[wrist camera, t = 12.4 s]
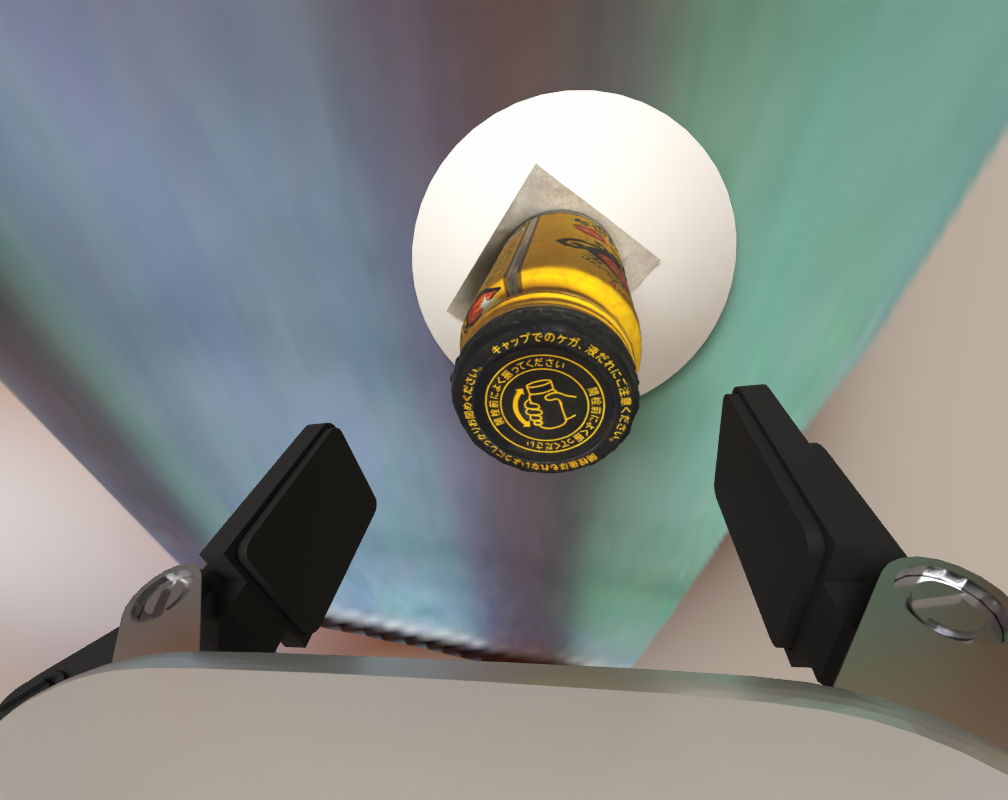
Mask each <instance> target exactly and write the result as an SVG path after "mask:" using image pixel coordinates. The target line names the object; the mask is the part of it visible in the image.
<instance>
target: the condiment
mask: <svg viewBox="0 0 1008 800" xmlns="http://www.w3.org/2000/svg"><path fill="white" fill-rule="evenodd" d="M660 261H661V260H660V259H659V258H658V257H657V256H655V255H654V254H653V253H651V252H650V251H649V250H648V249H646V248H645V247H644V246H642V244H640V243H639V242H637V241H636V240H635V239H633V238H632V237H631V236H630V235H628V234H627V233H626V232H625V231H623V230H622V229H621V228H619V227H618V226H617V225H616V224H614V223H613V222H612V221H611V220H609V219H608V218H607V217H605V216H604V215H603V214H601V213H600V212H599V211H597V210H596V209H595V208H594V207H592V206H591V205H590V204H588V203H587V202H586V201H585V200H583V199H582V198H581V197H579V196H578V195H577V194H575V193H574V192H573V191H571V190H570V189H569V188H568V187H566V186H564V185H563V184H562V183H561V182H560V181H558V180H557V179H556V178H554V177H553V176H552V175H550V174H549V173H548V172H547V171H545V170H544V169H543V168H541V167H540V166H539V165H538V164H536V163H535V165H534V167H533V168H532V170H531V172H530V173H529V175H528V177H527V178H526V180H525V182H524V183H523V185H522V187H521V188H520V190H519V192H518V193H517V195H516V197H515V198H514V200H513V202H512V203H511V205H510V207H509V208H508V210H507V211H506V213H505V215H504V216H503V218H502V220H501V221H500V223H499V225H498V226H497V228H496V230H495V231H494V233H493V235H492V236H491V238H490V240H489V241H488V243H487V245H486V246H485V248H484V250H483V251H482V253H481V254H480V256H479V258H478V259H477V261H476V263H475V264H474V266H473V268H472V269H471V271H470V272H469V274H468V276H467V278H466V279H465V281H464V282H463V284H462V286H461V288H460V289H459V291H458V293H457V294H456V296H455V297H454V299H453V301H452V302H451V304H450V306H449V307H448V309H447V312H448V313H450V314H452V315H453V316H455V317H456V318H458V319H460V320H462V321H464V322H463V325H462V328H461V334H460V355H459V356H458V357H457V358H456V361H455V369H454V371H453V373H452V374H451V376H450V381H451V383H452V386H451V394H452V402H453V405H454V408H455V410H456V412H457V415H458V417H459V420H460V422H461V424H462V426H463V427H464V429H465V430H466V432H467V433H468V435H469V437H470V438H471V440H472V441H473V442H474V444H475V445H476V446H478V447H479V448H480V449H482V450H483V451H484V452H486V453H487V454H488V455H490V456H492V457H494V458H496V459H497V460H498V461H500V462H501V463H504V464H506V465H509V466H512V467H515V468H518V469H520V470H522V471H527V472H539V473H561V472H567V471H572V470H575V469H579V468H582V467H585V466H588V465H593V464H595V463H596V462H598V461H599V460H601V459H603V458H605V457H606V456H607V455H608V454H609V453H611V452H612V451H614V450H615V449H616V448H617V446H618V445H619V444H620V443H621V442H622V441H624V439H625V438H626V437H627V436H628V434H629V433H630V430H631V426H632V422H633V419H634V417H635V415H636V414H637V410H638V409H639V399H640V396H639V395H640V392H639V390H638V386H639V383H640V382H639V380H638V375H637V373H638V371H639V369H640V362H641V354H642V347H641V342H642V339H641V331H640V325H639V319H638V316H637V313H636V311H635V309H634V305H633V301H632V299H631V294H630V293H631V292H632V291H633V290H634V289H635V288H636V287H637V286H638V285H639V284H640V283H641V281H642V280H643V279H644V278H645V277H646V276H647V274H648V273H649V272H650V271H651V270H652V269H653V268H654V267H655V266H656V265H657V264H658V263H659V262H660Z"/></svg>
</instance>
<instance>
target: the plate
mask: <svg viewBox="0 0 1008 800" xmlns="http://www.w3.org/2000/svg"><path fill="white" fill-rule="evenodd" d="M535 163H536V164H538V165H539V166H540V167H541V168H543V169H544V170H545V171H547V172H548V173H549V174H550V175H552V176H553V177H554V178H556V179H557V180H558V181H560V182H561V183H562V184H563V185H564V186H566V187H568V188H569V189H570V190H571V191H573V192H574V193H575V194H577V195H578V196H579V197H581V198H582V199H583V200H585V201H586V202H587V203H588V204H590V205H591V206H592V207H594V208H595V209H596V210H597V211H599V212H600V213H601V214H603V215H604V216H605V217H607V218H608V219H609V220H611V221H612V222H613V223H614V224H616V225H617V226H618V227H619V228H621V229H622V230H623V231H625V232H626V233H627V234H628V235H630V236H631V237H632V238H633V239H635V240H636V241H637V242H639V243H640V244H642V246H644V247H645V248H646V249H648V250H649V251H650V252H651V253H653V254H654V255H655V256H657V257H658V258H659V259H660V260H661V261H660V262H659V263H658V264H657V265H656V266H655V267H654V268H653V269H652V270H651V271H650V272H649V273H648V274H647V276H646V277H645V278H644V279H643V280H642V281H641V283H640V284H639V285H638V286H637V287H636V288H635V289H634V290H633V291H632V292H631V293H630V294H631V299H632V301H633V305H634V309H635V311H636V313H637V316H638V319H639V325H640V331H641V339H642V342H641V347H642V354H641V362H640V369H639V371H638V373H637V375H638V380H639V382H640V383H639V386H638V390H639V392H640V395H639V396H641V395H643V394H645V393H647V392H649V391H650V390H652V389H654V388H655V387H657V386H658V385H660V384H662V383H663V382H665V381H666V380H667V379H668V378H670V377H671V376H672V375H674V374H675V373H676V372H677V371H679V370H680V369H681V368H682V367H683V366H684V365H685V364H686V363H687V362H688V361H689V360H690V359H691V358H692V357H693V356H694V355H695V353H696V352H697V351H698V350H699V348H700V347H701V346H702V345H703V343H704V342H705V341H706V339H707V338H708V336H709V334H710V333H711V331H712V330H713V328H714V326H715V325H716V323H717V321H718V319H719V317H720V315H721V312H722V310H723V308H724V306H725V304H726V301H727V297H728V294H729V291H730V288H731V285H732V280H733V274H734V268H735V263H736V230H735V221H734V214H733V210H732V206H731V203H730V199H729V196H728V192H727V190H726V187H725V185H724V183H723V181H722V178H721V176H720V174H719V172H718V170H717V168H716V167H715V165H714V164H713V162H712V160H711V159H710V157H709V156H708V154H707V153H706V151H705V150H704V149H703V147H702V146H701V145H700V144H699V143H698V142H697V141H696V140H695V139H694V138H693V137H692V136H691V135H690V133H689V132H688V131H687V130H685V129H684V128H683V127H682V126H680V125H679V124H678V123H676V122H675V121H674V120H673V119H671V118H670V117H669V116H667V115H666V114H664V113H662V112H660V111H658V110H656V109H655V108H653V107H651V106H649V105H647V104H645V103H643V102H640V101H637V100H634V99H631V98H628V97H625V96H622V95H619V94H613V93H606V92H600V91H594V90H581V91H561V92H555V93H549V94H543V95H539V96H536V97H533V98H530V99H527V100H524V101H521V102H518V103H516V104H514V105H512V106H510V107H508V108H506V109H504V110H502V111H500V112H498V113H496V114H494V115H493V116H491V117H490V118H488V119H487V120H486V121H484V122H483V123H481V124H480V125H479V126H477V127H476V128H474V129H473V130H472V131H471V132H470V133H469V134H468V135H467V136H466V137H465V138H464V139H463V140H462V141H461V142H459V143H458V144H457V145H456V146H455V148H454V149H453V150H452V152H451V153H450V154H449V155H448V157H447V158H446V159H445V160H444V162H443V163H442V164H441V166H440V167H439V169H438V171H437V173H436V174H435V176H434V178H433V179H432V181H431V183H430V185H429V187H428V189H427V192H426V194H425V196H424V199H423V201H422V204H421V207H420V210H419V214H418V218H417V221H416V225H415V232H414V239H413V246H412V269H413V277H414V285H415V290H416V294H417V298H418V302H419V306H420V308H421V311H422V314H423V316H424V319H425V321H426V324H427V326H428V327H429V329H430V331H431V333H432V335H433V337H434V339H435V340H436V342H437V343H438V345H439V346H440V348H441V349H442V350H443V352H444V353H445V354H446V356H447V357H448V358H449V359H450V360H451V361H452V362H453V364H454V365H455V361H456V358H457V357H458V356H459V355H460V334H461V328H462V325H463V322H464V321H462V320H460V319H458V318H456V317H455V316H453V315H452V314H450V313H448V312H447V309H448V307H449V306H450V304H451V302H452V301H453V299H454V297H455V296H456V294H457V293H458V291H459V289H460V288H461V286H462V284H463V282H464V281H465V279H466V278H467V276H468V274H469V272H470V271H471V269H472V268H473V266H474V264H475V263H476V261H477V259H478V258H479V256H480V254H481V253H482V251H483V250H484V248H485V246H486V245H487V243H488V241H489V240H490V238H491V236H492V235H493V233H494V231H495V230H496V228H497V226H498V225H499V223H500V221H501V220H502V218H503V216H504V215H505V213H506V211H507V210H508V208H509V207H510V205H511V203H512V202H513V200H514V198H515V197H516V195H517V193H518V192H519V190H520V188H521V187H522V185H523V183H524V182H525V180H526V178H527V177H528V175H529V173H530V172H531V170H532V168H533V167H534V165H535Z"/></svg>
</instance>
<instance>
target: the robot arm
mask: <svg viewBox="0 0 1008 800" xmlns="http://www.w3.org/2000/svg"><path fill="white" fill-rule="evenodd" d="M714 489H715V495H716V498H717V501H718V504H719V506H720V509H721V512H722V514H723V517H724V519H725V522H726V525H727V527H728V530H729V532H730V535H731V538H732V540H733V543H734V545H735V548H736V551H737V553H738V556H739V559H740V561H741V564H742V566H743V569H744V572H745V574H746V577H747V579H748V582H749V585H750V587H751V590H752V592H753V595H754V597H755V600H756V603H757V606H758V608H759V611H760V613H761V616H762V619H763V621H764V624H765V626H766V629H767V632H768V634H769V637H770V639H771V641H772V643H773V644H774V646H775V647H777V648H784V649H785V652H786V654H787V657H788V659H789V662H790V664H791V666H792V667H809V668H812V670H813V671H814V674H815V677H816V679H817V681H818V682H820V683H821V684H822V685H819V684H813V683H808V682H799V681H791V680H782V679H772V678H763V677H755V676H743V675H727V674H712V673H696V672H682V671H667V670H651V669H631V668H611V667H590V666H569V665H549V664H528V663H507V662H484V661H461V660H439V659H415V658H391V657H390V658H389V657H368V656H342V655H315V654H287V653H286V654H285V653H277V652H276V649H277V647H278V645H279V643H280V642H281V643H282V644H283V645H284V646H285V647H303V648H305V647H306V646H307V644H308V642H309V639H310V637H311V635H312V633H314V632H316V631H317V630H318V629H319V627H320V625H321V623H322V621H323V619H324V617H325V615H326V613H327V611H328V609H329V607H330V605H331V603H332V601H333V599H334V596H335V594H336V592H337V590H338V588H339V586H340V584H341V582H342V580H343V578H344V576H345V574H346V572H347V570H348V567H349V565H350V563H351V561H352V559H353V557H354V555H355V553H356V551H357V549H358V547H359V545H360V543H361V540H362V538H363V536H364V534H365V532H366V530H367V528H368V526H369V524H370V522H371V520H372V518H373V516H374V513H375V511H376V507H377V502H376V498H375V496H374V494H373V492H372V490H371V488H370V486H369V484H368V482H367V480H366V478H365V476H364V474H363V472H362V470H361V469H360V467H359V465H358V463H357V461H356V459H355V457H354V455H353V453H352V451H351V449H350V447H349V445H348V443H347V441H346V439H345V437H344V435H343V433H342V432H341V430H340V429H339V428H336V427H335V426H334V425H333V424H331V423H322V424H311V425H307V426H306V427H305V428H304V429H303V430H302V432H301V433H300V434H299V435H298V436H297V438H296V439H295V440H294V441H293V442H292V444H291V445H290V446H289V447H288V448H287V450H286V451H285V452H284V453H283V454H282V456H281V457H280V458H279V459H278V460H277V462H276V463H275V464H274V465H273V466H272V468H271V469H270V470H269V471H268V472H267V474H266V475H265V476H264V477H263V478H262V480H261V481H260V482H259V483H258V484H257V486H256V487H255V488H254V489H253V490H252V492H251V493H250V494H249V495H248V496H247V498H246V499H245V500H244V501H243V502H242V504H241V505H240V506H239V507H238V508H237V510H236V511H235V512H234V513H233V514H232V516H231V517H230V518H229V519H228V520H227V522H226V523H225V524H224V525H223V526H222V528H221V529H220V530H219V531H218V532H217V534H216V535H215V536H214V537H213V538H212V540H211V541H210V542H209V543H208V544H207V546H206V547H205V548H204V549H203V550H202V552H201V553H200V554H199V555H200V556H201V557H202V558H203V559H204V560H205V561H206V562H207V563H208V564H207V565H206V566H205V567H204V569H203V570H201V569H200V568H199V567H198V566H197V565H195V564H183V565H178V566H175V567H173V568H171V569H168V570H166V571H164V572H163V573H161V574H159V575H158V576H156V577H154V578H153V579H152V580H151V581H149V582H148V583H147V584H145V585H144V586H143V587H142V588H141V589H140V590H139V591H138V592H137V593H136V594H135V595H134V596H133V597H132V599H131V600H130V601H129V603H128V604H127V606H126V607H125V610H124V612H123V615H122V617H121V622H120V627H118V628H116V629H114V630H113V631H111V632H110V633H108V634H106V635H104V636H103V637H101V638H99V639H98V640H96V641H94V642H93V643H91V644H89V645H87V646H86V647H84V648H83V649H81V650H79V651H77V652H76V653H74V654H72V655H71V656H69V657H67V658H66V659H64V660H62V661H60V662H59V663H57V664H55V665H54V666H52V667H50V668H49V669H47V670H45V671H44V672H42V673H40V674H39V675H37V676H36V677H34V678H33V679H31V680H30V681H28V682H26V683H25V684H23V685H21V686H20V687H18V688H17V689H15V691H13V692H12V693H11V694H10V695H9V696H7V697H6V698H5V699H4V701H3V702H2V703H1V704H0V800H1008V596H1007V595H1006V594H1005V593H1004V592H1002V591H1001V590H1000V589H998V588H997V587H996V586H994V585H993V584H991V583H990V582H988V581H987V580H985V579H984V578H982V577H981V576H979V575H976V574H974V573H972V572H970V571H968V570H966V569H964V568H962V567H960V566H957V565H954V564H951V563H948V562H945V561H942V560H938V559H932V558H925V557H907V556H906V554H905V553H904V552H903V550H902V549H901V548H900V546H899V545H898V544H897V542H896V541H895V540H894V539H893V537H892V536H891V535H890V533H889V532H888V531H887V529H886V528H885V527H884V525H883V524H882V523H881V521H880V520H879V519H878V518H877V516H876V515H875V514H874V512H873V511H872V510H871V508H870V507H869V506H868V504H867V503H866V502H865V500H864V499H863V498H862V497H861V495H860V494H859V493H858V491H857V490H856V489H855V487H854V486H853V485H852V483H851V482H850V481H849V480H848V478H847V477H846V476H845V474H844V473H843V472H842V470H841V469H840V468H839V466H838V465H837V464H836V462H834V460H833V458H832V457H831V456H830V455H829V454H828V452H827V451H826V450H825V449H824V448H823V447H822V446H821V445H820V444H817V443H808V441H807V440H806V438H805V437H804V436H803V434H802V433H801V432H800V430H799V429H798V427H797V426H796V425H795V423H794V422H793V421H792V419H791V418H790V416H789V415H788V414H787V412H786V411H785V410H784V408H783V407H782V405H781V404H780V403H779V401H778V400H777V398H776V397H775V396H774V394H773V393H772V392H771V390H770V389H769V387H768V386H767V385H764V384H761V385H749V386H738V387H735V388H734V389H733V392H732V394H726V395H725V396H724V398H723V406H722V415H721V425H720V434H719V443H718V453H717V462H716V471H715V481H714Z"/></svg>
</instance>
